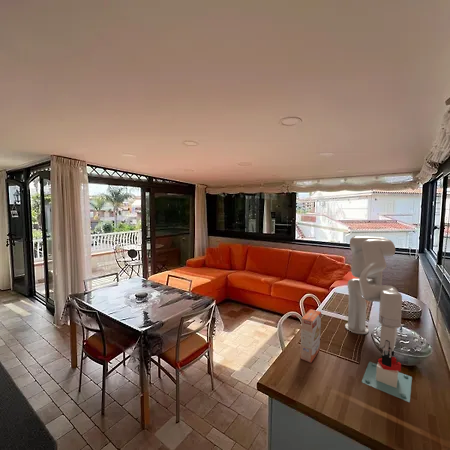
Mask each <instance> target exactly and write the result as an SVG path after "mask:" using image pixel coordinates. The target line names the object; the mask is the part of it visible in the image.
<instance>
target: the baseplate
mask: <svg viewBox="0 0 450 450" xmlns="http://www.w3.org/2000/svg"><path fill="white" fill-rule="evenodd" d="M377 364H378V363H375V362H372V361H369V362H368V364H367V367H366V369H365V372H364V373H363V376H362V380H361V383H363V384H365V385H367V386H369V387H372V388H374V389H376V390H379V391H381V392H383V393H386V394H388V395H391V396H393V397H396V398H399V399H401V400H403V401H405V402H408V403H410V402H411V394H412V380H413V377H412V376H410V375H408V374H404V373H403V372H401V371H398V382H397V388H395V387H392V386H390V385H387V384H385V383H382V382H380V381H377V380H376V371H377Z"/></svg>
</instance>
